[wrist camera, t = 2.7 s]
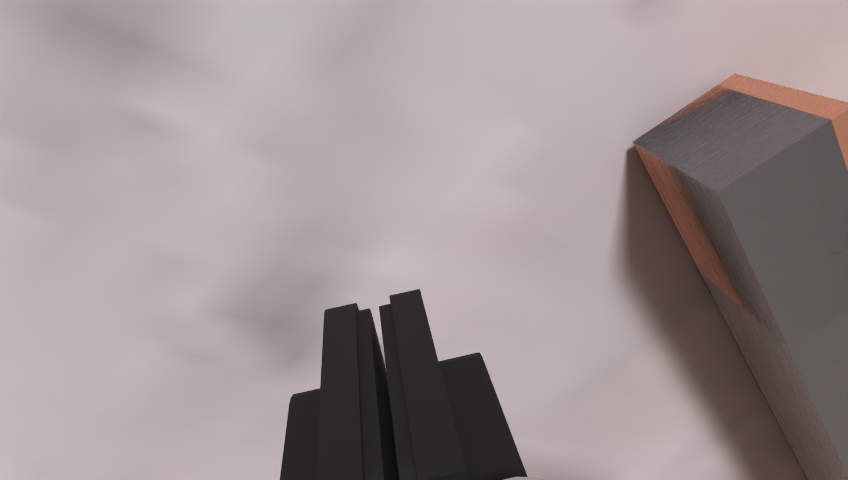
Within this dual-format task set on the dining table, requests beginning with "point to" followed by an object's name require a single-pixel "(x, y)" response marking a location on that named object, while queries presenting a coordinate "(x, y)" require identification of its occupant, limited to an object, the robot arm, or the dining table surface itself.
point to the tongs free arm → (770, 243)
